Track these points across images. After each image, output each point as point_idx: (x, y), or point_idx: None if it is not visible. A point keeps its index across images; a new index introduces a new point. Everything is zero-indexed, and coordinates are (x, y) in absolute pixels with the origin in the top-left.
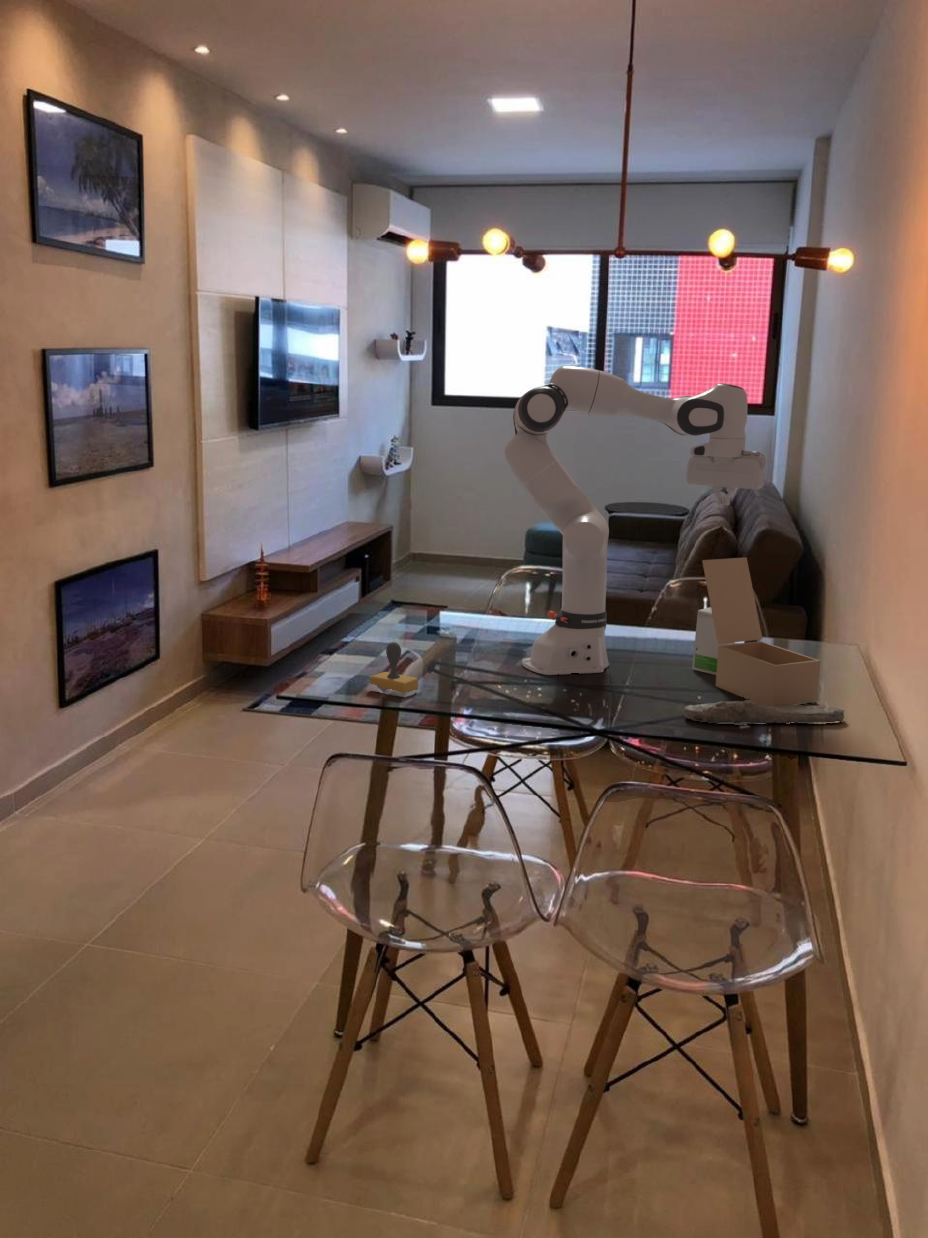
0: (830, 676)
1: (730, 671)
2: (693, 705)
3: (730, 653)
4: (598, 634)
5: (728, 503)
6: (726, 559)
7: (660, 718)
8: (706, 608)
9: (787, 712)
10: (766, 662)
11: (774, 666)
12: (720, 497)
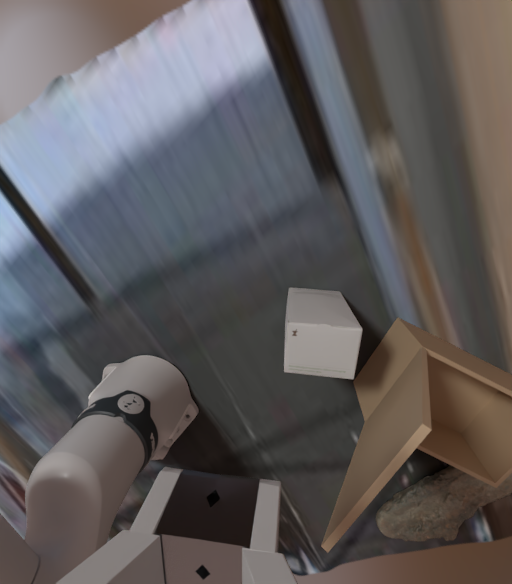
0: (505, 204)
1: None
2: (387, 523)
3: None
4: (164, 438)
5: (279, 513)
6: (377, 492)
7: (353, 526)
8: (289, 342)
9: (504, 495)
10: (476, 476)
11: (493, 485)
12: (162, 564)
